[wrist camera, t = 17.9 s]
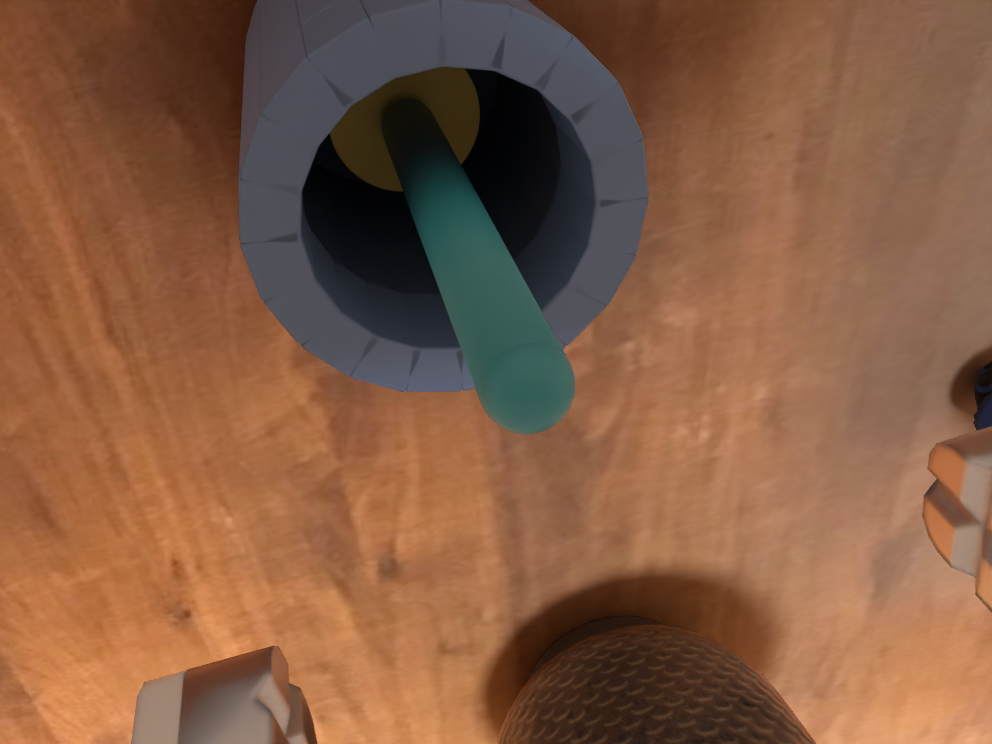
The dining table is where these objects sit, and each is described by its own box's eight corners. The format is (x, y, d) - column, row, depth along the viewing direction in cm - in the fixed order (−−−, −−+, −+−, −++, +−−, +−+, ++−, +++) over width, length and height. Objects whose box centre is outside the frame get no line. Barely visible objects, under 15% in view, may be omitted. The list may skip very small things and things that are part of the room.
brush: (300, 24, 30) (355, 331, 13) (434, -10, 30) (665, 243, 13) (339, 156, 32) (431, 556, 15) (463, 123, 32) (687, 478, 16)
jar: (205, -44, 29) (170, 64, 17) (483, -109, 29) (628, -48, 18) (293, 217, 34) (312, 434, 22) (527, 156, 35) (662, 336, 23)
